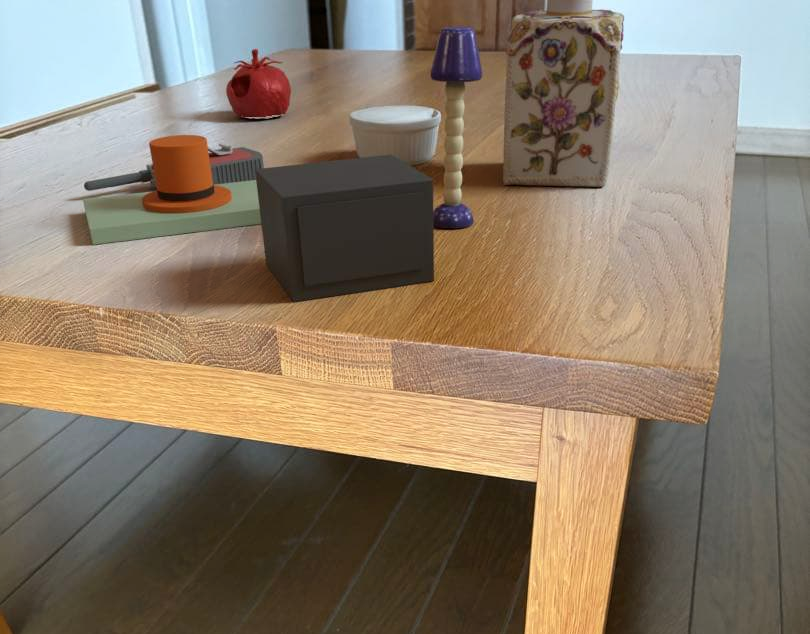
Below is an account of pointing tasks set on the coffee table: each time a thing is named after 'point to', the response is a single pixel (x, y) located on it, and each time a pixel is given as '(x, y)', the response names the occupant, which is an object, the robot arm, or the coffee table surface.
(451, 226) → the toy lamp
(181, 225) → the board
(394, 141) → the ramekin
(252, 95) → the red hollow tomato
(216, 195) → the hat
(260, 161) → the walkie-talkie
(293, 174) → the box
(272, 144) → the coffee table surface
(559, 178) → the decorative jar
